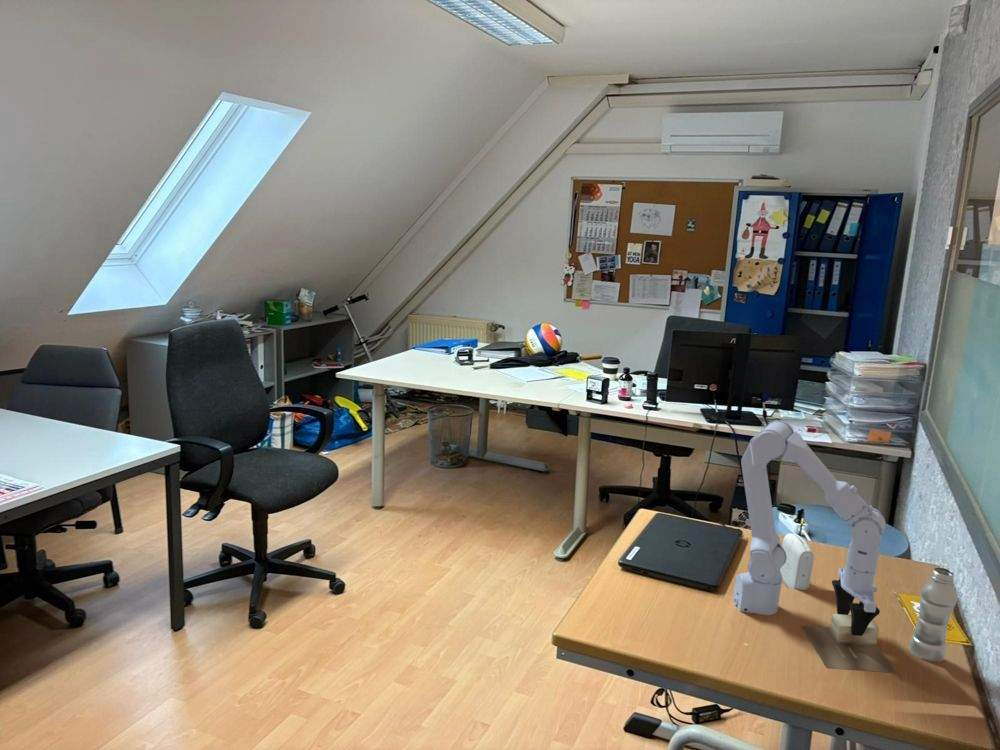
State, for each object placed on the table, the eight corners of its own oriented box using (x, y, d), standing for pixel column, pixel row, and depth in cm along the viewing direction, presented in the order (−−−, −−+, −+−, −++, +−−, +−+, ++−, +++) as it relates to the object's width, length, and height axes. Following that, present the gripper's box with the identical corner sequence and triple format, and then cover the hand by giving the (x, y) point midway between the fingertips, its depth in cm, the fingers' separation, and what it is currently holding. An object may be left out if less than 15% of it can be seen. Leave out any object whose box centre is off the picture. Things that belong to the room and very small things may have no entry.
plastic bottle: (900, 653, 157) (917, 566, 152) (922, 646, 160) (940, 561, 155) (927, 671, 151) (947, 581, 146) (950, 664, 154) (969, 576, 149)
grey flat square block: (825, 674, 148) (826, 667, 148) (799, 631, 163) (800, 625, 162) (896, 679, 148) (898, 673, 148) (864, 636, 162) (865, 630, 162)
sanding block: (837, 642, 157) (840, 625, 156) (829, 630, 161) (832, 613, 160) (876, 645, 157) (879, 628, 156) (866, 633, 161) (870, 616, 160)
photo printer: (810, 595, 178) (818, 548, 175) (792, 595, 178) (800, 547, 175) (791, 574, 188) (799, 529, 185) (775, 573, 188) (782, 528, 185)
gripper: (896, 585, 149) (883, 645, 152) (865, 551, 163) (854, 607, 166) (860, 582, 149) (848, 642, 152) (832, 549, 163) (822, 604, 166)
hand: (849, 624), depth 159 cm, fingers open, 7 cm apart
